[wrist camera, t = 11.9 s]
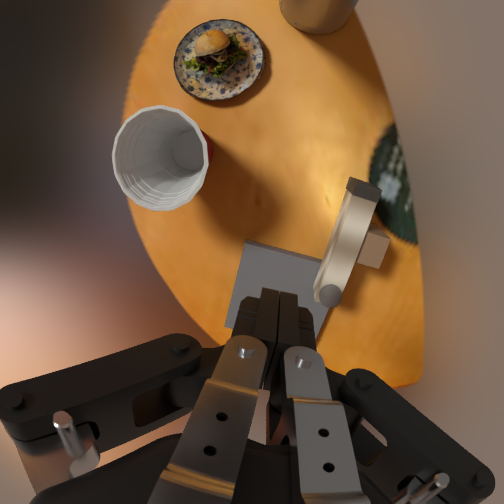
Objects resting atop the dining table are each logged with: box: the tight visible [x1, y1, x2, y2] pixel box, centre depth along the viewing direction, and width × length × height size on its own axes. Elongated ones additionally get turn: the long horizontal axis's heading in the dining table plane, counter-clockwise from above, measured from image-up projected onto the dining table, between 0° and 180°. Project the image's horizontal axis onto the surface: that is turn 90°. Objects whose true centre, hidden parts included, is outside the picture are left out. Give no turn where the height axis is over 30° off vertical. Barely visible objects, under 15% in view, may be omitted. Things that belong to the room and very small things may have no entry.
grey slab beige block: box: [225, 223, 391, 340], centre depth 41 cm, size 21×17×6 cm
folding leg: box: [313, 177, 382, 308], centre depth 37 cm, size 16×3×5 cm, turn 166°
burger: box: [174, 19, 266, 101], centre depth 31 cm, size 12×12×8 cm
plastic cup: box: [112, 105, 213, 211], centre depth 34 cm, size 11×11×12 cm
